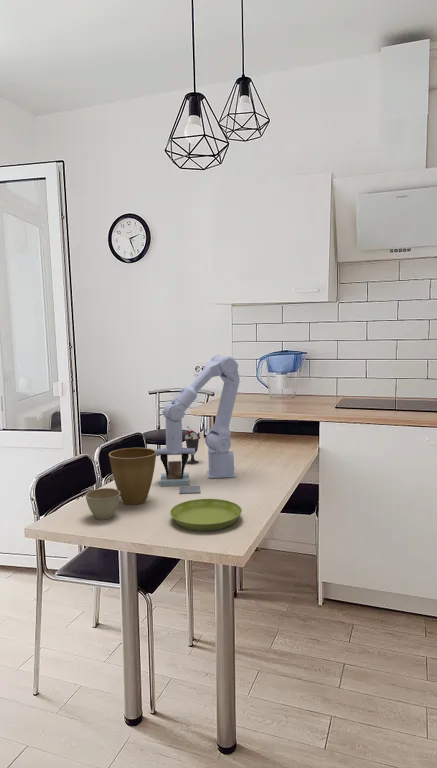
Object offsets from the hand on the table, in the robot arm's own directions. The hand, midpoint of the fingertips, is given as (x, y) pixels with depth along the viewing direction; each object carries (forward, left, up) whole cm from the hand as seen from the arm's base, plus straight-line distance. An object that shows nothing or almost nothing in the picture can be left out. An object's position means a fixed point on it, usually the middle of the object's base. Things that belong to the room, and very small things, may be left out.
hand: (174, 474), depth 199 cm
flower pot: (+21, +32, -3) cm, 39 cm away
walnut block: (0, 0, -3) cm, 3 cm away
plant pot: (+13, +20, -3) cm, 24 cm away
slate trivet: (-5, +10, -3) cm, 12 cm away
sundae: (-7, -26, -3) cm, 27 cm away
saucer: (-9, +38, -3) cm, 40 cm away
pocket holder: (0, 0, -3) cm, 3 cm away
